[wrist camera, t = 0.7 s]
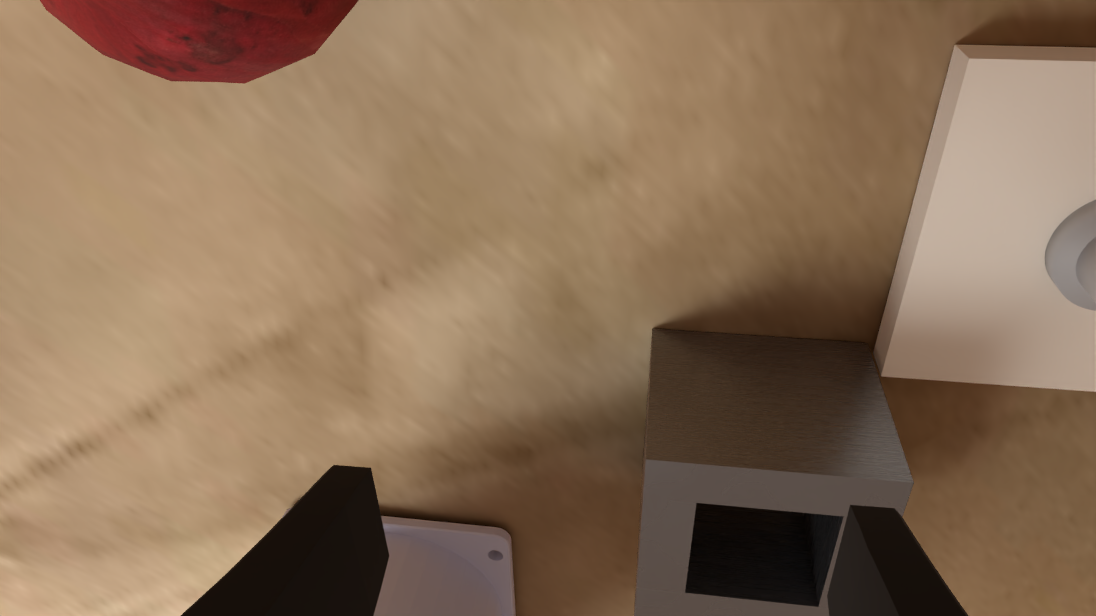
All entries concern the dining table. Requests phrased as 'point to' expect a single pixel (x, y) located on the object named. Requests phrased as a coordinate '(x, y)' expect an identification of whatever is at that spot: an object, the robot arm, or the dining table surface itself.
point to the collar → (757, 471)
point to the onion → (203, 33)
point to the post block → (1002, 228)
